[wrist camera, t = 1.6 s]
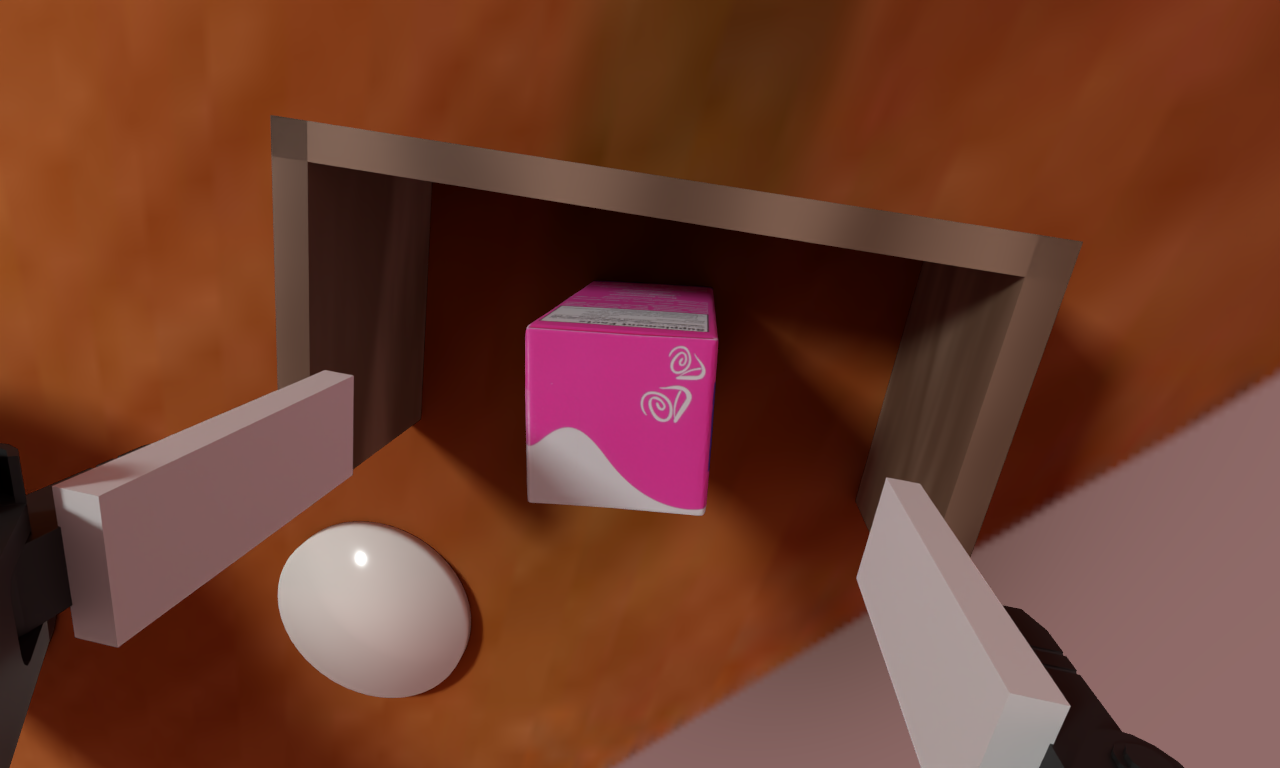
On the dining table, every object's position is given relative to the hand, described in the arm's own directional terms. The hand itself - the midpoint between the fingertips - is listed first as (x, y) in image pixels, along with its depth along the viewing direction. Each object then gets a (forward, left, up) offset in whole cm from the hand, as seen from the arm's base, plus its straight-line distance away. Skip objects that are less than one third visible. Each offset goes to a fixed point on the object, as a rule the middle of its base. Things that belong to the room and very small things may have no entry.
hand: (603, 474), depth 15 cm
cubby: (0, 0, -15) cm, 15 cm away
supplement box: (0, 0, -15) cm, 15 cm away
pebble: (-13, -18, -15) cm, 27 cm away
